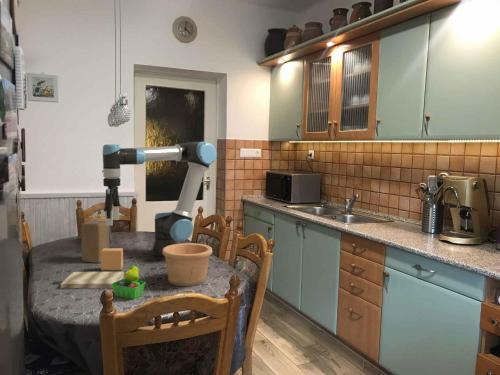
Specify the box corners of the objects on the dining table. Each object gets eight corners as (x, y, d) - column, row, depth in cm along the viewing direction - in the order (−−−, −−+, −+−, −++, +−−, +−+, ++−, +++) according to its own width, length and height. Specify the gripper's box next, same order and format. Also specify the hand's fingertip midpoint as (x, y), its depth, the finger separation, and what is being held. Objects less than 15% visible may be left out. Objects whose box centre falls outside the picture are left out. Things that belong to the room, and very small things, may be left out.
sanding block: (123, 268, 193) (123, 248, 192) (121, 271, 188) (120, 250, 187) (103, 268, 192) (103, 248, 191) (101, 271, 187) (101, 250, 186)
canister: (102, 239, 252) (102, 211, 250) (115, 242, 244) (115, 213, 243) (83, 242, 242) (83, 213, 240) (96, 246, 234) (95, 216, 232)
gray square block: (68, 282, 173) (68, 278, 173) (63, 285, 169) (63, 281, 169) (59, 281, 173) (59, 278, 173) (54, 284, 169) (54, 281, 169)
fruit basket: (110, 296, 157) (110, 268, 156) (125, 289, 165) (125, 262, 164) (134, 301, 153) (134, 272, 152) (148, 293, 161) (148, 266, 160)
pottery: (217, 275, 186) (218, 245, 185) (201, 291, 165) (202, 257, 164) (174, 270, 191) (175, 241, 190) (153, 285, 170) (153, 252, 169)
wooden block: (99, 263, 199) (98, 224, 198) (81, 262, 201) (80, 223, 200) (110, 258, 209) (109, 220, 207) (92, 256, 211) (92, 219, 209)
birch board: (123, 275, 182) (123, 271, 182) (115, 288, 166) (115, 283, 166) (73, 276, 179) (73, 271, 179) (60, 288, 163) (60, 283, 163)
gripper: (109, 175, 198) (110, 217, 200) (96, 179, 173) (97, 227, 175) (125, 175, 198) (126, 217, 201) (114, 180, 174) (115, 227, 176)
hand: (112, 222), depth 188 cm, fingers open, 13 cm apart
